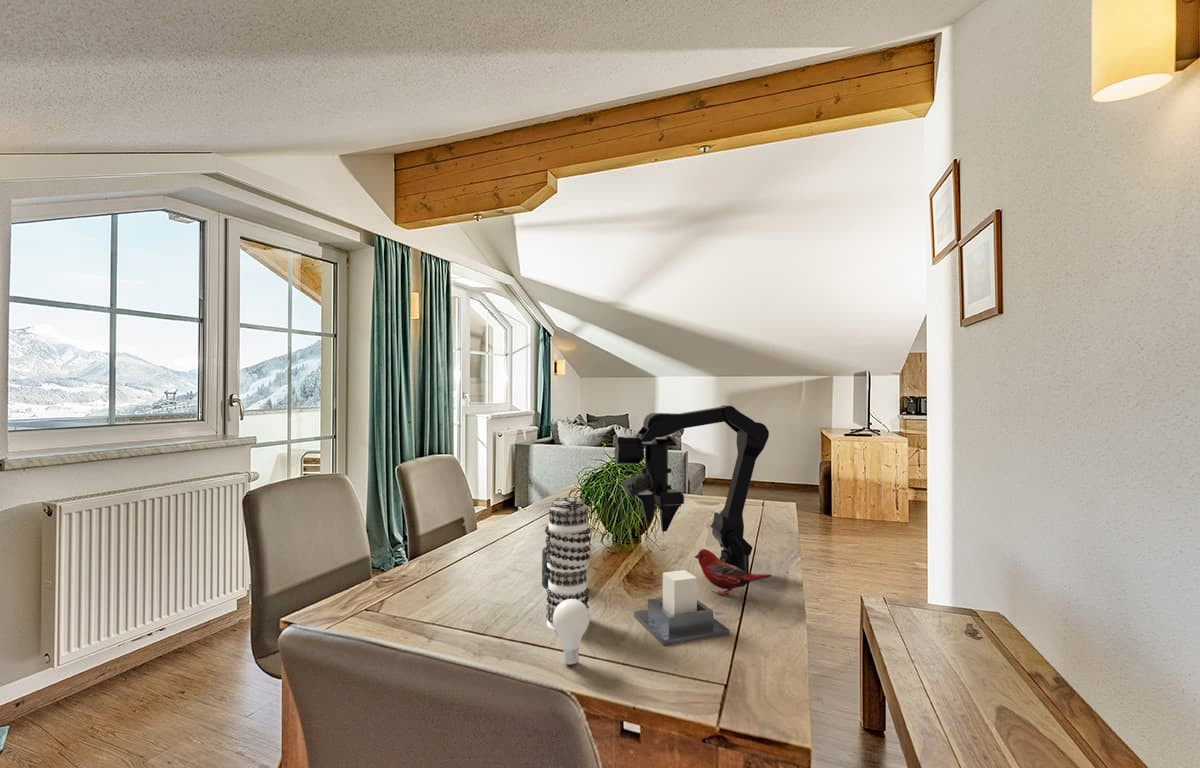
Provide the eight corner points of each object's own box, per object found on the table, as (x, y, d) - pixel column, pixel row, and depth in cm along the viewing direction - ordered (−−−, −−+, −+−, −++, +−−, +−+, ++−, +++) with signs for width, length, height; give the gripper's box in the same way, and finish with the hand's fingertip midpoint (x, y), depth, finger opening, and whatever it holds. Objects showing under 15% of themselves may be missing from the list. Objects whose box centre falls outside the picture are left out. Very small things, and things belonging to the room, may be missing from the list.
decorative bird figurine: (695, 588, 133) (695, 546, 133) (773, 601, 125) (773, 556, 125) (692, 592, 130) (692, 549, 130) (770, 605, 122) (770, 559, 122)
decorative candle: (573, 637, 106) (574, 506, 106) (535, 626, 111) (535, 500, 111) (599, 620, 114) (599, 498, 114) (562, 611, 119) (562, 493, 119)
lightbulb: (552, 655, 99) (552, 593, 99) (588, 654, 99) (588, 592, 100) (552, 674, 93) (552, 607, 93) (590, 672, 93) (591, 606, 93)
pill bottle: (563, 590, 131) (563, 542, 131) (538, 588, 132) (538, 540, 132) (569, 582, 137) (569, 535, 137) (546, 580, 138) (546, 534, 138)
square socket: (693, 607, 121) (693, 589, 121) (729, 634, 108) (729, 614, 108) (633, 616, 116) (633, 597, 116) (663, 645, 103) (663, 624, 103)
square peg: (684, 613, 115) (684, 570, 115) (696, 623, 110) (696, 577, 110) (662, 617, 113) (662, 572, 113) (674, 627, 109) (674, 580, 109)
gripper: (612, 460, 145) (612, 520, 145) (641, 470, 127) (641, 539, 127) (652, 458, 149) (651, 517, 149) (685, 468, 131) (685, 535, 131)
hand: (656, 526), depth 139 cm, fingers open, 9 cm apart
